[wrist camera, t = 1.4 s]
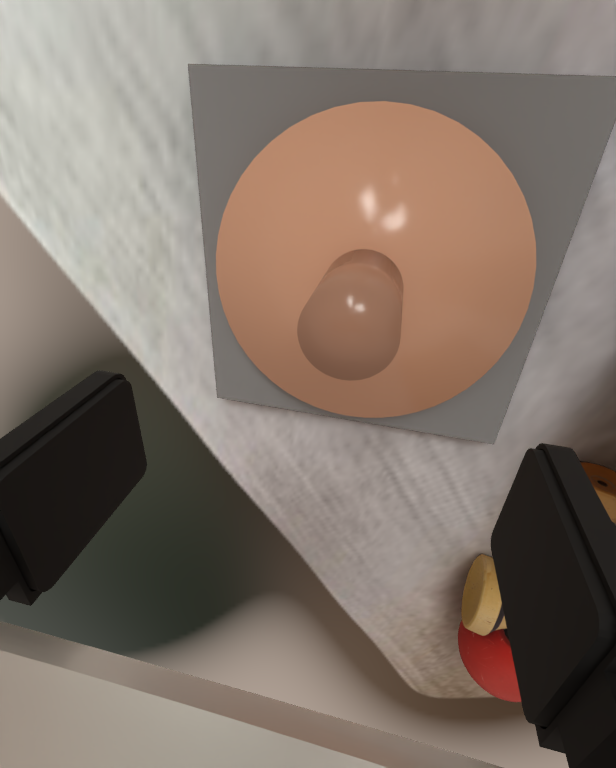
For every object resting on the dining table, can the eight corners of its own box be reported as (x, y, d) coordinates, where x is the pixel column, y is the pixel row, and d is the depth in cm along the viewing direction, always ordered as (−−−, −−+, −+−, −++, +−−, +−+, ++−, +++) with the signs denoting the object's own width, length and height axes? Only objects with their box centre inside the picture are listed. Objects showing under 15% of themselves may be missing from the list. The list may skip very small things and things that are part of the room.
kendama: (501, 432, 24) (425, 627, 32) (557, 504, 19) (449, 721, 26) (625, 448, 25) (521, 637, 32) (718, 524, 19) (565, 733, 27)
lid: (213, 96, 17) (126, 78, 12) (586, 110, 14) (679, 97, 9) (232, 386, 24) (184, 452, 19) (480, 426, 22) (500, 513, 17)
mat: (199, 67, 17) (187, 63, 16) (619, 79, 14) (632, 76, 14) (223, 388, 26) (217, 397, 25) (491, 433, 23) (494, 444, 22)
